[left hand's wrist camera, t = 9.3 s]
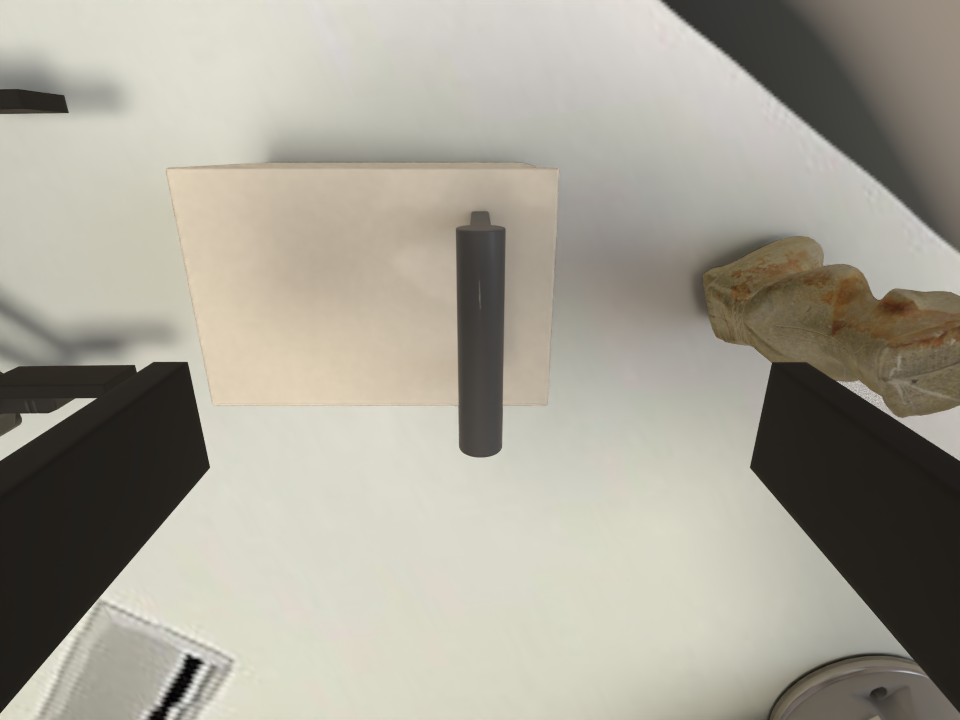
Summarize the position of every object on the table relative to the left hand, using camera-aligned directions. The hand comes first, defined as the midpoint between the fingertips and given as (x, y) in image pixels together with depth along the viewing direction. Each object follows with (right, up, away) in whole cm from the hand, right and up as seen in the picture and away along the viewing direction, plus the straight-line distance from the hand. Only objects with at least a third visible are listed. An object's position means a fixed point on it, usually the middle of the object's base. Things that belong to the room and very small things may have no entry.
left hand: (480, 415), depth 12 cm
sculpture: (+17, +6, +21) cm, 28 cm away
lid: (-5, +4, +11) cm, 13 cm away
